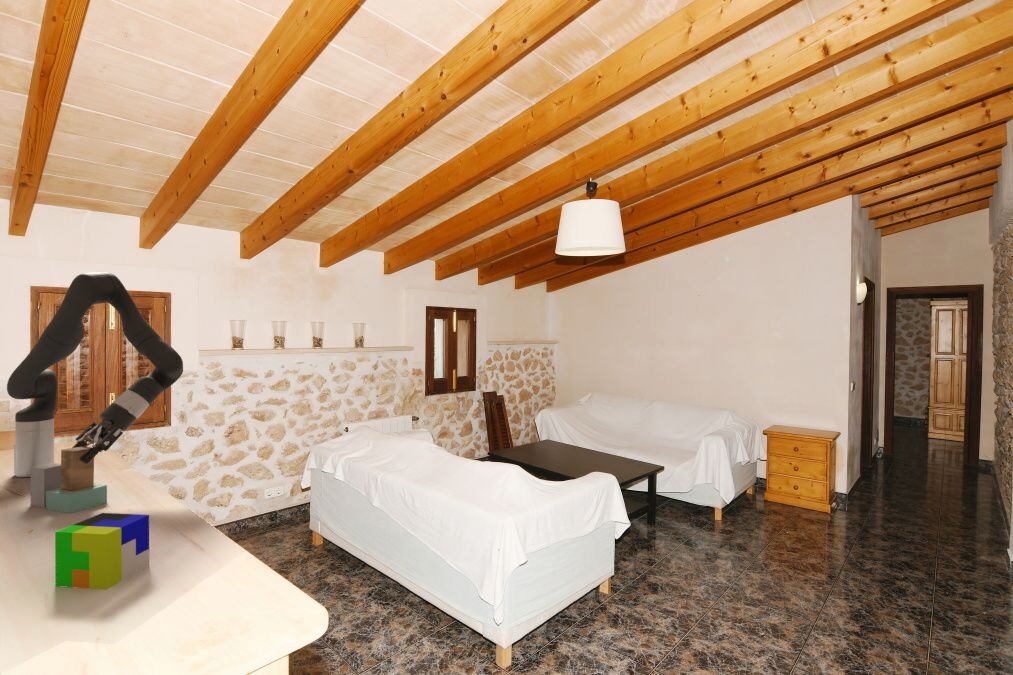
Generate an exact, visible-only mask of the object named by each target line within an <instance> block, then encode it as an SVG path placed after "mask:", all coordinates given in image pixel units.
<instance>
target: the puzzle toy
mask: <svg viewBox="0 0 1013 675" xmlns="http://www.w3.org/2000/svg"><path fill="white" fill-rule="evenodd" d="M54 534H55V535H54V538H55V540H54V541H55V544H54V545H55V546H54V547H55V548H54V549H55V551H54V553H55V554H54V555H55V556H54V559H55V561H54V562H55V566H54V567H55V570H54V572H55V577H54V578H55V581H54V582H55V584H54V585H55V587H57V586H67V587H66V588H73V587H77V588H78V589H90V588H91V590H95V589H96V590H108V589H110V588H111V587H113V586H115V585H117V584H118V583H120V582H122V581H124V580H125V579H127V578H129V577H131V576H132V575H134V574H136V573H138V572H140V571H141V570H143V569H144V568H146V567H148V566H150V515H149V514H132V513H112V512H102V513H98V514H96V515H94V516H92V517H89V518H87V519H84V520H81V521H79V522H77V523H74V524H70V525H69V526H67V527H64V528H61V529H59V530H57V531H54ZM77 588H76V589H77Z"/></svg>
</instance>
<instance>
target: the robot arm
mask: <svg viewBox="0 0 1013 675" xmlns="http://www.w3.org/2000/svg"><path fill="white" fill-rule="evenodd" d="M107 303H108V304H109V305H111V306H112V307H113V308H114V309H115V310H116V311H117V313H118V315H119V317H120V320H121V326H122V328H121V329H122V331H123V334H124V336H125V338H126V340H128V342H129V343H130V344H131V345H132V347H133V348H134V349H135V350H136V351H137V352H138V353H139V354H140V355H141V356H143V357H145V358H147V360H148V361H150V363H151V364H152V365H153V367H155V368H153V369H152V371H150V373H148V375H146V376H141V377H140V378H138V379H137V380H135V382H134V383H133V384H131V385H130V386H129V387H128V388H127V389H126V390H125V391H123V392H122V393H121V394H120V395H119V396H118V397H117V398H115V399H114V400H113V401H112V402H111V403H110V404H109V405H108V406H107V407H106V408H105V410H103V411H101V413H100V414H99V418H100V419H101V422H100V423H96V422H94V421H93V422H92V423H91V424H90V425H89V426H88V427H87V428H85V430H83V431H82V433H80V434H79V435H78V436H77V437H76V438H75V441H76V442H75V444H74V445H73V446H72V447H71V448H76V447H82V446H84V447H89V446H90V445H91V447H90V448H89V449H88V450H87V451H86V452H85V453H84V454H83V455H82V456H81V457H80V461H82V462H84V463H86V464H87V463H89V462H90V461H91V460H92V459H93V458H94V459H95V457H96V456H97V455H98V454H99V453H101V452H103V451H104V452H107V451H108V450H109V449H110V448H111V447H112V446H113V445H114V444H115V442H117V440H118V439H119V438H120V437H121V436H122V435H123V434H124V432H126V431H127V430H128V429H129V428H130V427H131V426H132V425H133V424H134V423H135V421H136V420H138V419H139V418H140V417H141V415H142V414H144V412H145V411H146V410H147V408H148V407H149V406H150V405H151V404H152V403H153V402H154V401H155V400H156V399H157V398H158V396H160V394H161V393H163V392H164V391H165V390H167V389H169V388H170V387H171V386H172V385H174V384H175V383H176V381H178V380H179V379H180V377H181V376H182V375H183V372H184V361H183V359H182V356H180V354H179V352H177V350H175V349H174V348H173V347H172V346H170V345H169V344H168V343H167V342H166V341H164V340H163V338H162V337H161V336H160V335H159V333H158V332H157V331H156V330H155V329H154V328H153V327H152V326H151V325H150V324H149V322H147V320H146V318H144V316H143V314H142V313H141V311H140V309H139V308H138V307H137V305H136V303H135V302H134V300H133V299H132V297H131V295H130V293H129V291H128V290H127V288H126V286H124V283H122V281H121V280H120V279H119V278H118V276H116V275H115V274H114V273H112V272H106V271H98V272H85V273H80V274H78V275H76V276H75V277H74V278H73V280H72V281H71V283H70V285H69V287H68V289H67V291H66V293H65V296H64V298H63V300H62V302H61V304H60V306H59V308H58V309H57V311H56V312H55V314H54V315H53V317H52V319H51V320H50V322H48V324H47V326H46V327H45V329H44V330H43V331H42V333H41V335H40V336H39V338H38V340H37V341H36V343H35V345H34V346H33V347H32V349H31V350H30V351H29V353H28V354H27V355H26V356H25V358H24V359H23V360H22V361H21V362H20V364H18V366H17V367H16V368H15V369H14V370H13V371H12V373H11V374H10V376H9V377H8V381H7V383H6V391H7V394H8V395H9V397H11V398H13V399H15V400H30V399H31V400H33V399H34V401H33V402H32V403H31V404H30V405H28V406H27V407H25V408H22V409H20V410H18V411H17V412H16V413H15V416H14V419H15V420H14V421H15V427H14V428H15V444H14V445H13V456H14V458H13V465H14V466H13V469H14V470H13V471H14V472H13V473H14V475H15V477H17V478H31V467H35V466H40V465H44V464H49V463H55V412H56V410H57V397H58V396H57V395H58V379H57V375H56V373H55V372H54V371H53V370H52V369H49V368H50V367H52V366H54V365H56V364H58V363H60V362H61V361H62V360H65V359H66V358H68V357H69V356H70V355H72V354H73V353H74V352H75V351H76V350H77V348H78V346H80V344H81V342H82V341H83V339H84V337H85V334H86V331H85V330H86V329H85V325H84V320H83V318H84V316H85V315H86V313H87V312H88V310H89V309H90V308H91V307H92V306H94V305H97V304H107Z"/></svg>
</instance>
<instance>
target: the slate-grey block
mask: <svg viewBox="0 0 1013 675" xmlns="http://www.w3.org/2000/svg"><path fill="white" fill-rule="evenodd" d="M57 488H61V463H56V462H54V463H49V464H44V465H40V466H35V467H31V477H30V506H32V507H40V508H46V491H49V490H53V489H57Z"/></svg>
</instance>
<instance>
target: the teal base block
mask: <svg viewBox="0 0 1013 675" xmlns="http://www.w3.org/2000/svg"><path fill="white" fill-rule="evenodd" d="M106 502H107V503H108V485H107V484H103V483H101V484H100V483H95V482H94V486H91V487H86V488H81V489H77V490H72V491H71V490H67V489H62V488H57V489H53V490H49V491H46V507H45V509H46V510H49V511H54V512H55V511H56V512H60V513H65V514H73V513H77V512H80V511H82V510H86V509H89V508H93V507H96V506H99V505H104V504H106Z"/></svg>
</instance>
